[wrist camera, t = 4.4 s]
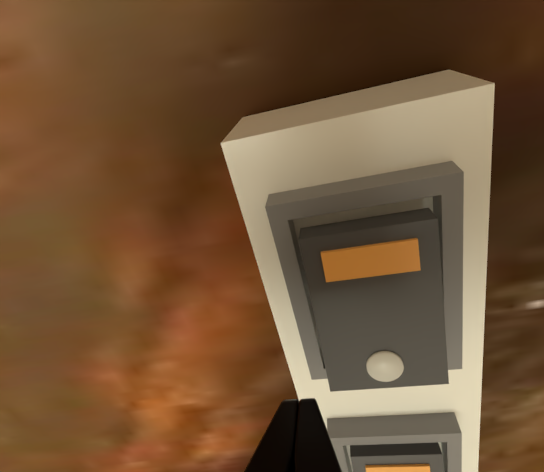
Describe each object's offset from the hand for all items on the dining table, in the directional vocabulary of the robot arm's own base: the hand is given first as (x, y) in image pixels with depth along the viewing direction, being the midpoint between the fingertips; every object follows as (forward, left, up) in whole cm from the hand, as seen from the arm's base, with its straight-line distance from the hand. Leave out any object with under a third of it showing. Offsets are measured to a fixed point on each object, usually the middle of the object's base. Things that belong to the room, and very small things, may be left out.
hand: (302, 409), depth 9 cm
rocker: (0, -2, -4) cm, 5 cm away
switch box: (-6, -2, -10) cm, 12 cm away
